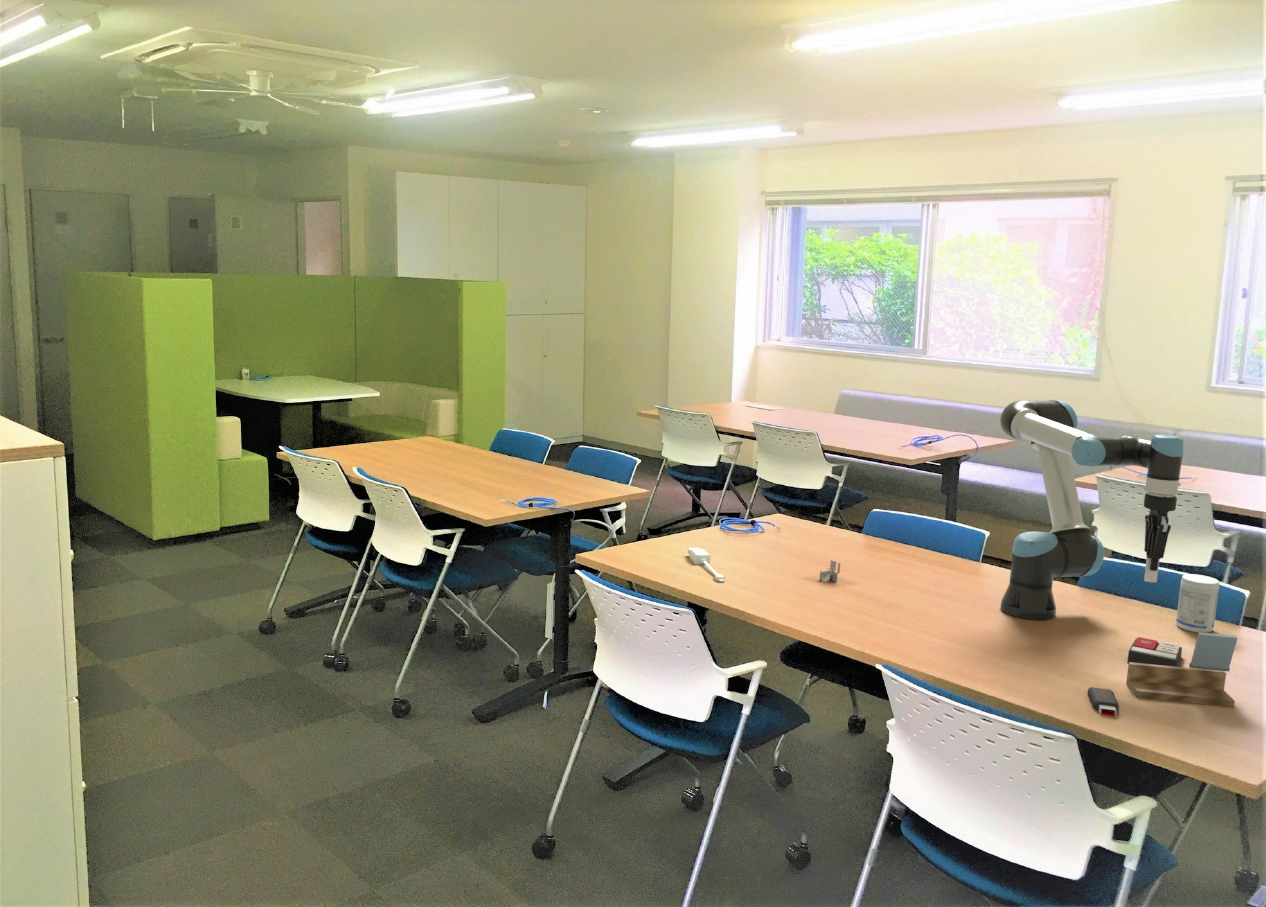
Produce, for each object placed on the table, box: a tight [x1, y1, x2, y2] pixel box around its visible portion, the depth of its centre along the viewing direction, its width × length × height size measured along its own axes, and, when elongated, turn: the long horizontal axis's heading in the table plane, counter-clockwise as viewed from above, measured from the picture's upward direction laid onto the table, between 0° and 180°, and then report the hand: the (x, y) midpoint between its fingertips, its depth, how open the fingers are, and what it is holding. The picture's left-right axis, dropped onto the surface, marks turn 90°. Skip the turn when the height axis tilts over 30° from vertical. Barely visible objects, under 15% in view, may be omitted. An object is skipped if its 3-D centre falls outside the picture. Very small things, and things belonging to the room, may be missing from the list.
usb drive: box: [1087, 686, 1120, 718], centre depth 229 cm, size 5×12×3 cm, turn 164°
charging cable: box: [687, 547, 726, 583], centre depth 329 cm, size 5×32×3 cm, turn 13°
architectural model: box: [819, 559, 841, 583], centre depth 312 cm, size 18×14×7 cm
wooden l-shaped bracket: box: [1125, 662, 1236, 708], centre depth 237 cm, size 21×8×6 cm, turn 80°
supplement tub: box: [1175, 573, 1220, 633], centre depth 286 cm, size 10×10×15 cm
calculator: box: [1127, 636, 1183, 667], centre depth 260 cm, size 11×4×15 cm
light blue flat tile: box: [1188, 632, 1238, 672], centre depth 236 cm, size 8×10×1 cm
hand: (1150, 581), depth 268 cm, fingers closed
